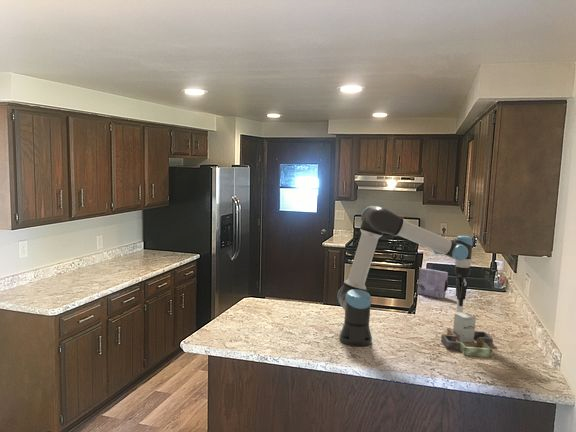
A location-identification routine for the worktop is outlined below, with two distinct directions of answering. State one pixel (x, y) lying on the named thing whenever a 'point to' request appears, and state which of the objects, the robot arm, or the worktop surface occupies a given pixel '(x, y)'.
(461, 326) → the supplement box
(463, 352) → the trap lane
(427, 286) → the cake pan box
